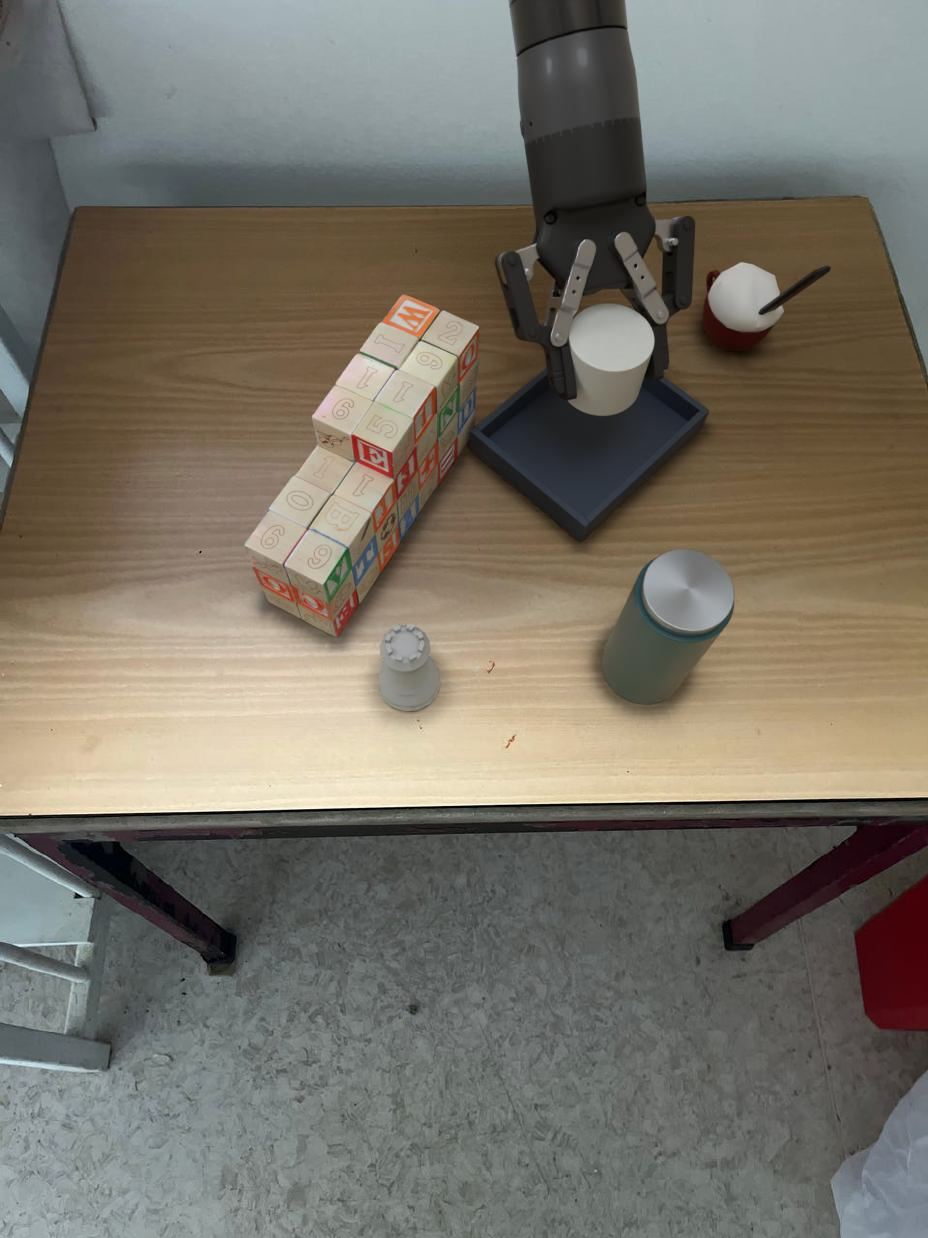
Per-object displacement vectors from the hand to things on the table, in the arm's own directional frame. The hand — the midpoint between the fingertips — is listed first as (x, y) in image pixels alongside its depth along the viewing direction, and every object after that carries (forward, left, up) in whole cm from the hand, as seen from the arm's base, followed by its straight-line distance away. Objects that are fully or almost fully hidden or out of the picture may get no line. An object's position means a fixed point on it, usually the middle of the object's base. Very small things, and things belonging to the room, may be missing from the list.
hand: (611, 387), depth 61 cm
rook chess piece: (+24, +4, -9) cm, 26 cm away
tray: (-1, -1, -8) cm, 9 cm away
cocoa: (-18, +1, -9) cm, 20 cm away
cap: (-1, -1, -1) cm, 2 cm away
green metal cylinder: (+11, +15, -8) cm, 20 cm away
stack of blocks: (+16, -8, -9) cm, 20 cm away
